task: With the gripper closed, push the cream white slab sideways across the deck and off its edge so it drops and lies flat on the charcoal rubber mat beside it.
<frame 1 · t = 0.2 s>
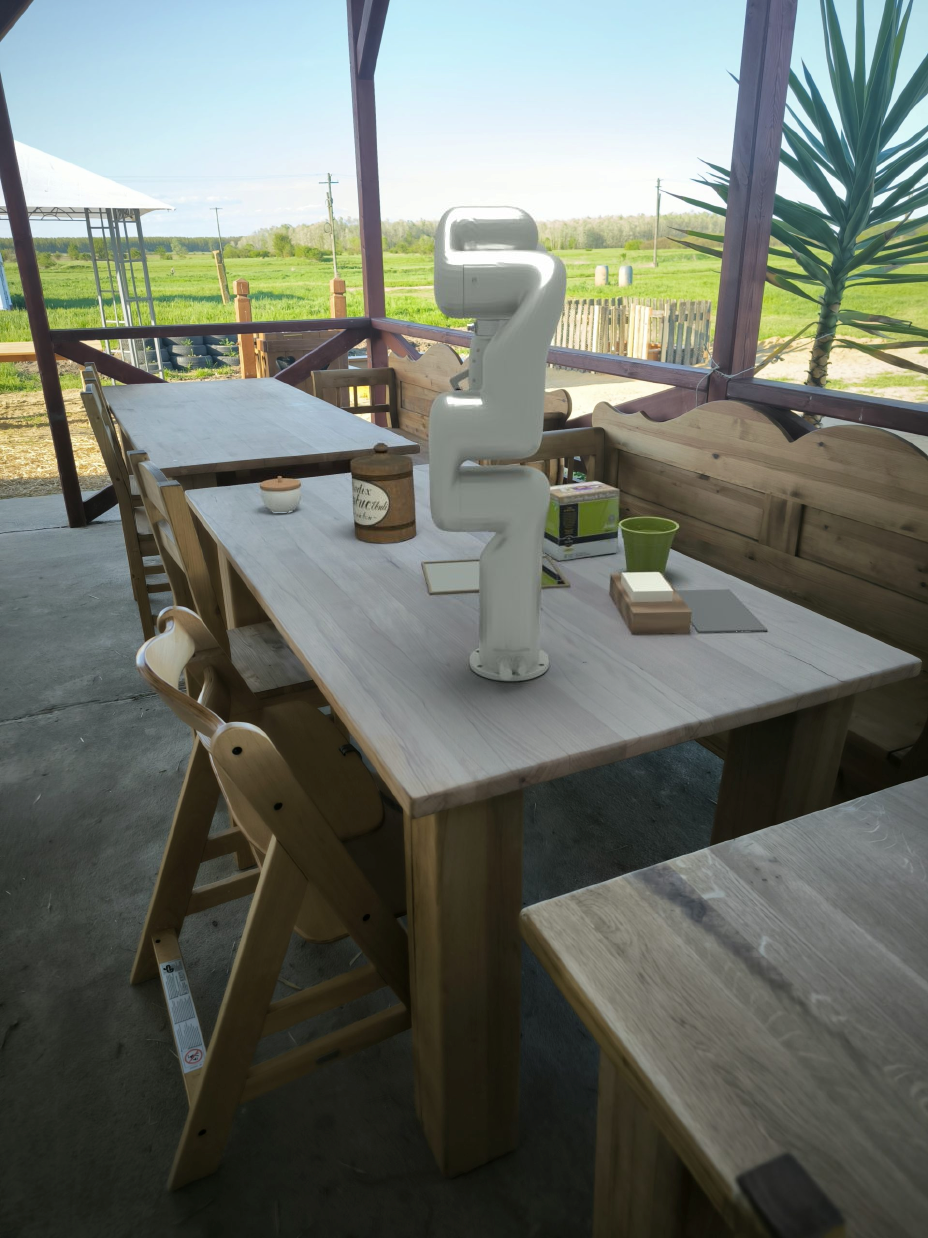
hand: (494, 422, 159), 31 cm above the table, tool pointing down, fingers open, 9 cm apart
lidded jar: (283, 511, 219), on the table
wooden container: (385, 535, 197), on the table
deck: (646, 612, 149), on the table
plant pot: (644, 578, 167), on the table
mat: (714, 610, 149), on the table
picture frame: (492, 578, 169), on the table
cream white slab: (645, 591, 148), point 4 cm above the table, touching deck
tea box: (577, 552, 183), on the table
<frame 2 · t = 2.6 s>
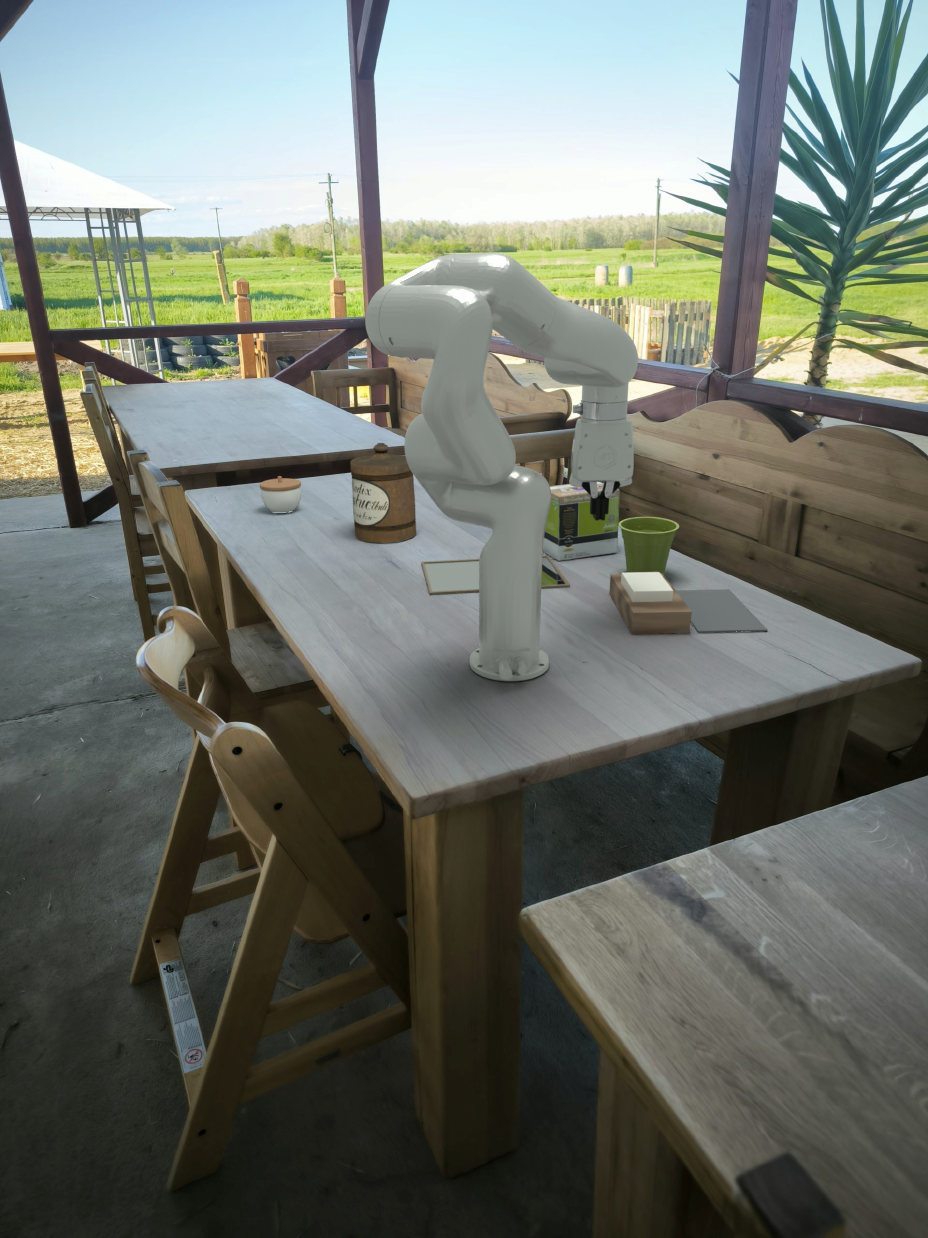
hand: (598, 518, 142), 18 cm above the table, tool pointing down, fingers closed
nothing on the table moved.
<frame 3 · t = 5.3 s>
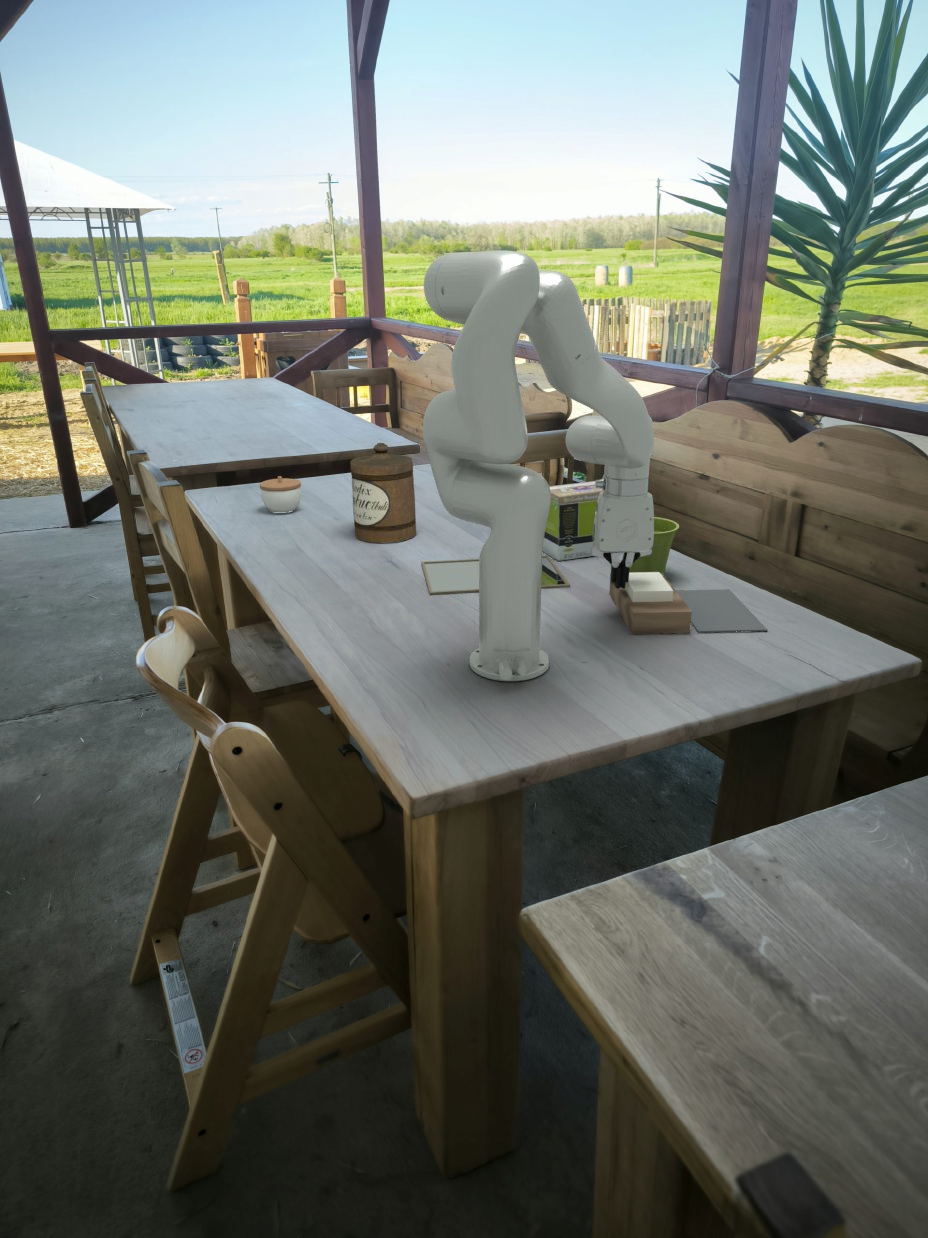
hand: (619, 585, 147), 5 cm above the table, tool pointing down, fingers closed
cream white slab: (645, 591, 148), point 4 cm above the table, touching deck, gripper
everything else where it was.
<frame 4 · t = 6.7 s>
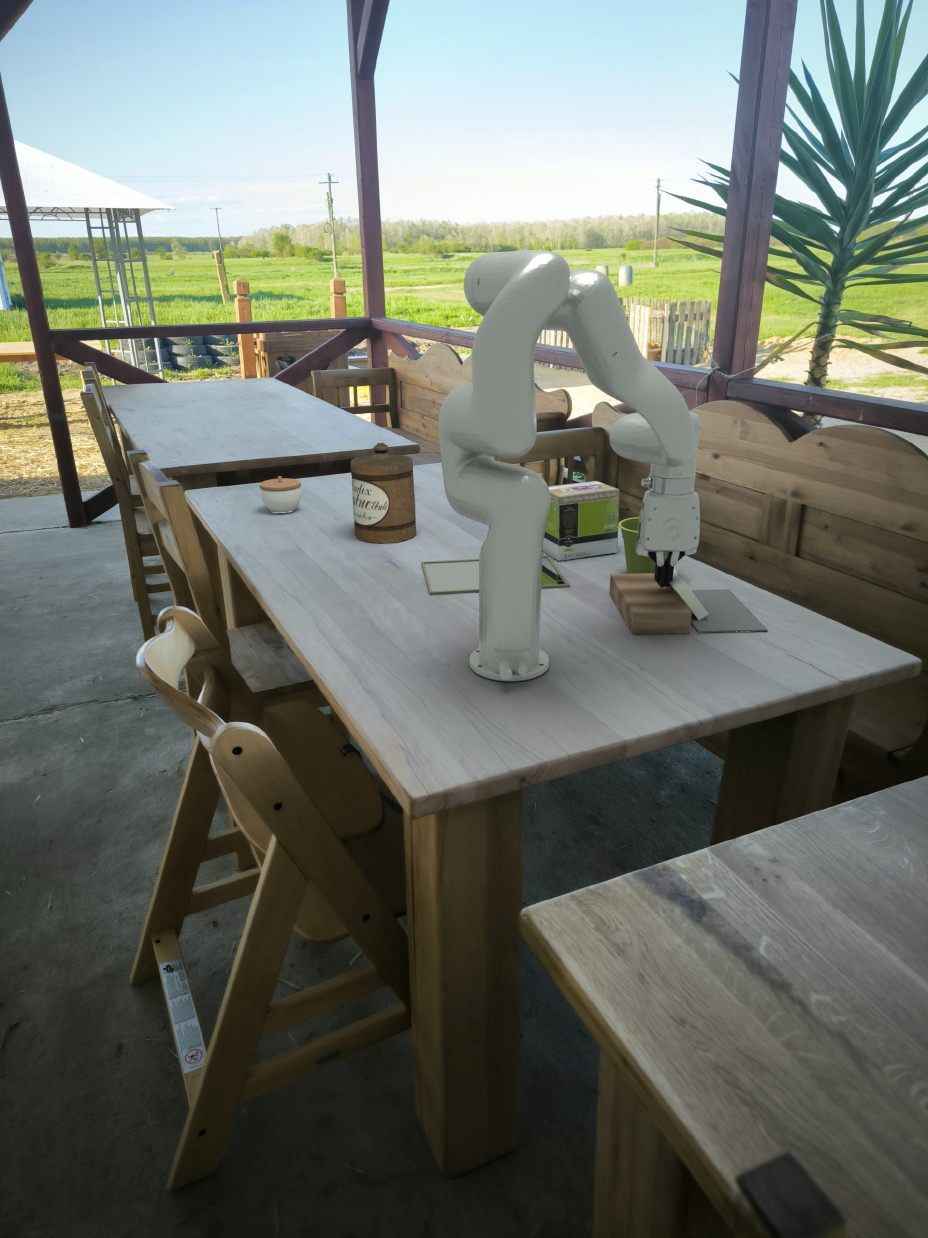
hand: (662, 584, 147), 5 cm above the table, tool pointing down, fingers closed
cream white slab: (680, 596, 148), point 3 cm above the table, tilted 52°, touching gripper, mat
everything else where it was.
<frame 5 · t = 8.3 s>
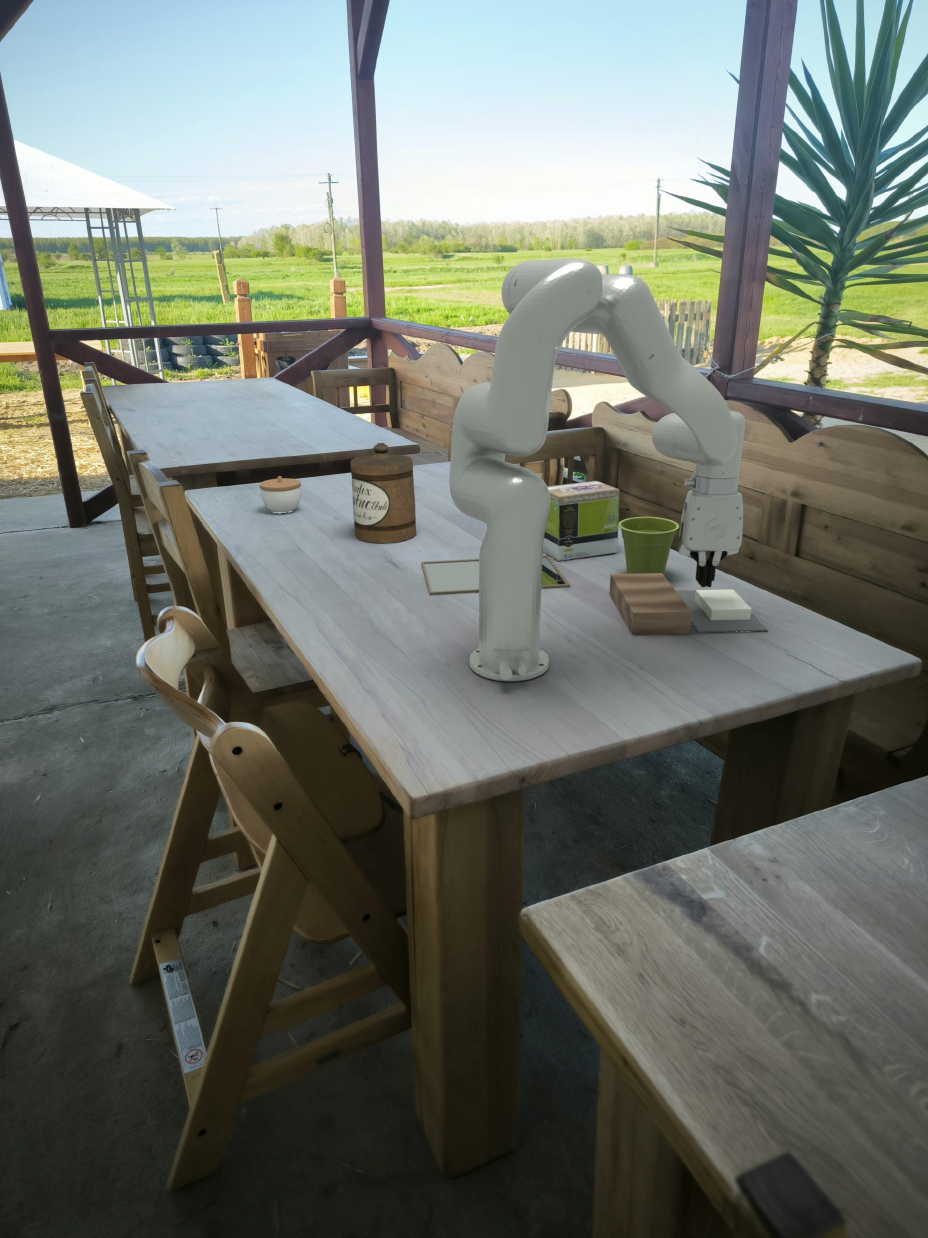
hand: (704, 584, 147), 5 cm above the table, tool pointing down, fingers closed
cream white slab: (722, 599, 148), point 2 cm above the table, tilted 180°, touching mat
everything else where it was.
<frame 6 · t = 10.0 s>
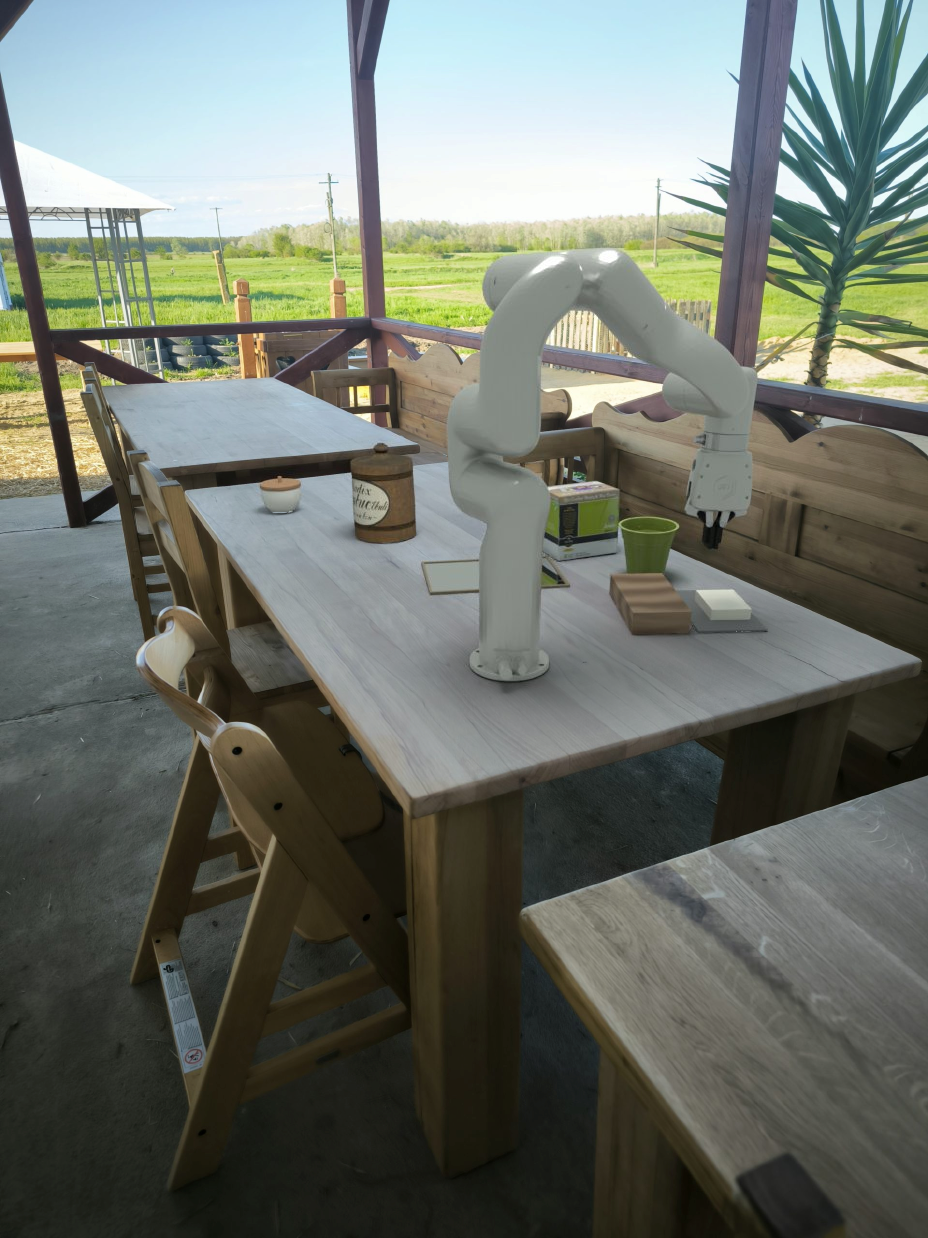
hand: (710, 546, 144), 12 cm above the table, tool pointing down, fingers closed
nothing on the table moved.
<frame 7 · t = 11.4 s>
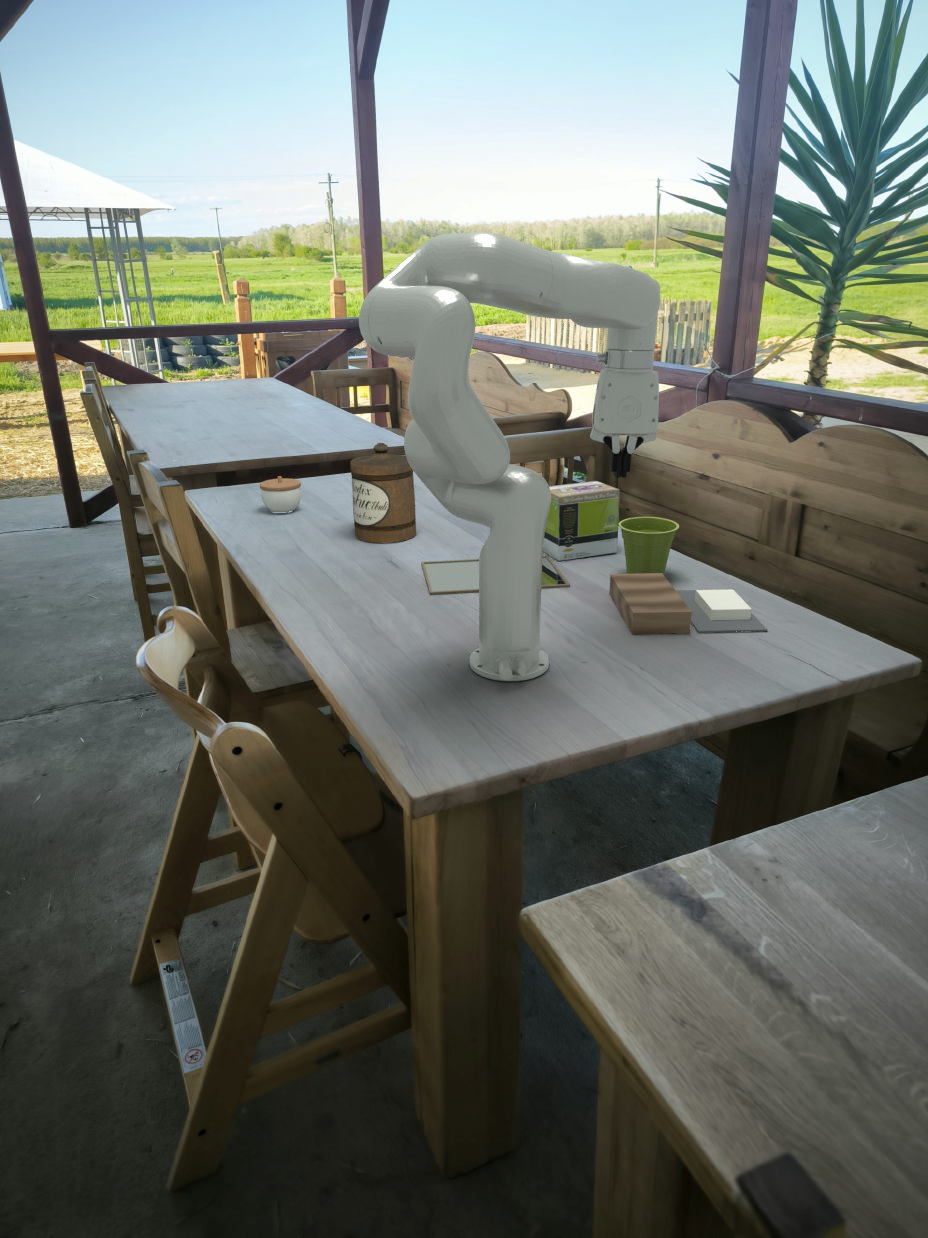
hand: (619, 475, 136), 26 cm above the table, tool pointing down, fingers closed
nothing on the table moved.
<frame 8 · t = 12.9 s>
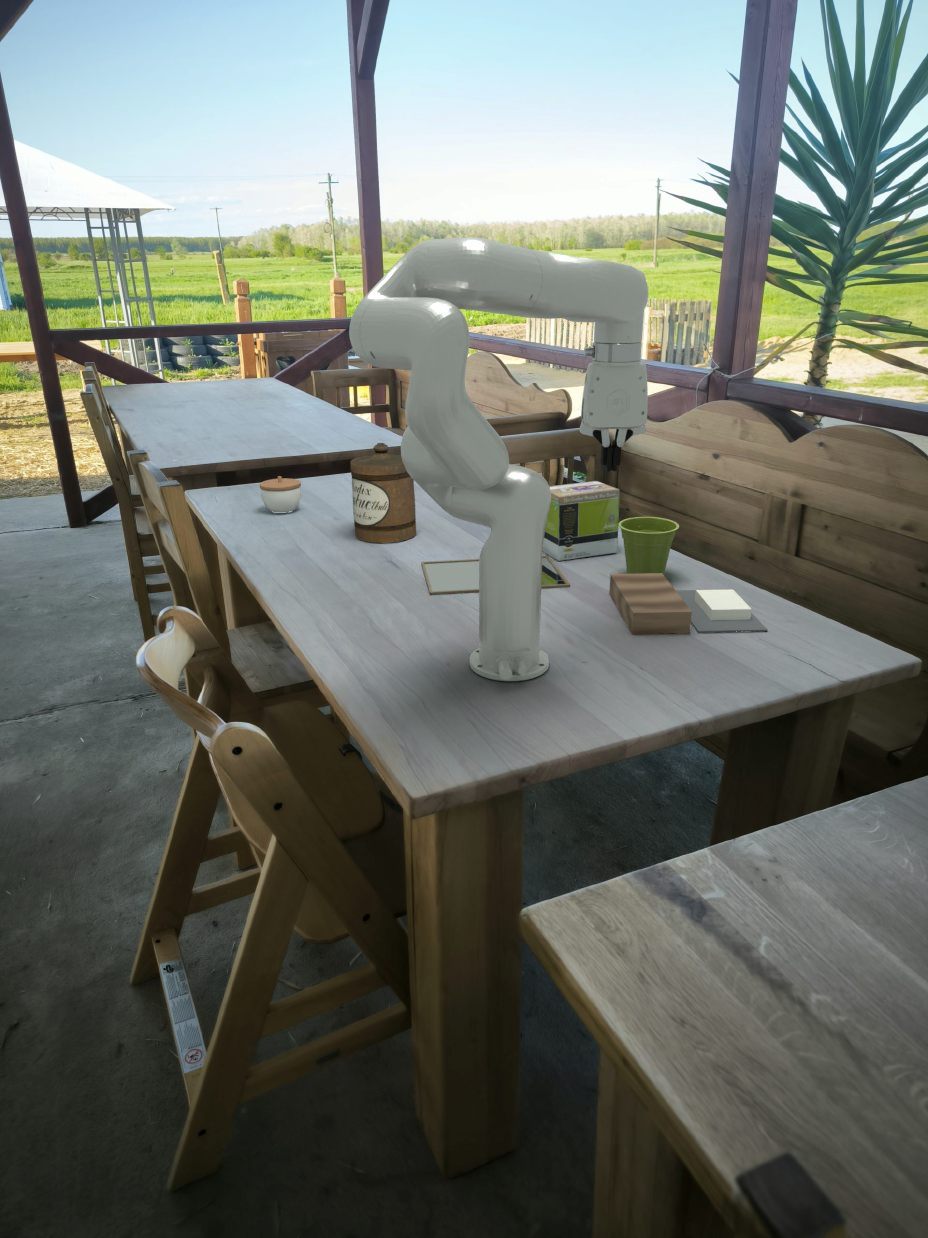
hand: (610, 469, 136), 27 cm above the table, tool pointing down, fingers closed
nothing on the table moved.
at the end: cream white slab inside the target area (1.4 cm from its centre), point 2.4 cm above the table; cream white slab touching mat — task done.
